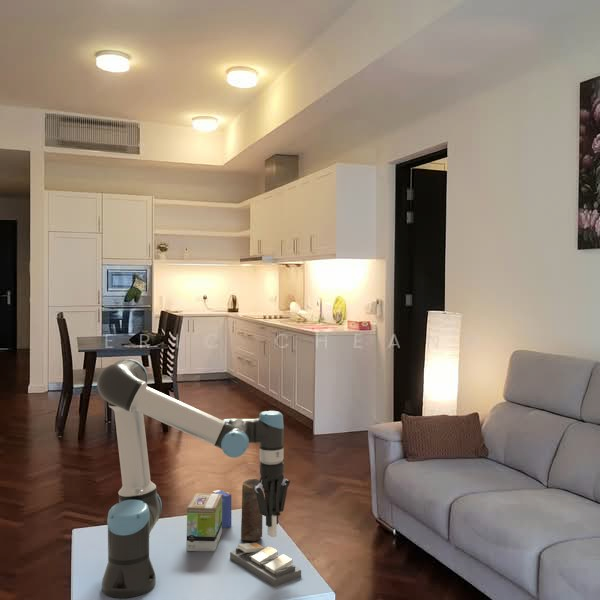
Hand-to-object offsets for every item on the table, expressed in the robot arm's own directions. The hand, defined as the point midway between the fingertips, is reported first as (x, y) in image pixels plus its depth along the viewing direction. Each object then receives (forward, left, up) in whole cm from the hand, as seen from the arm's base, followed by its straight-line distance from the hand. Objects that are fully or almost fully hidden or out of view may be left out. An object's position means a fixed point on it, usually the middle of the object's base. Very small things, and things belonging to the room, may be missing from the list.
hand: (272, 535), depth 199 cm
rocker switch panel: (-3, 0, -9) cm, 10 cm away
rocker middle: (-3, 0, -6) cm, 6 cm away
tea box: (-8, +28, -10) cm, 31 cm away
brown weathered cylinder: (+6, +20, -9) cm, 23 cm away
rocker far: (-3, +8, -6) cm, 10 cm away
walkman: (+5, +38, -9) cm, 40 cm away
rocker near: (-3, -7, -6) cm, 10 cm away
